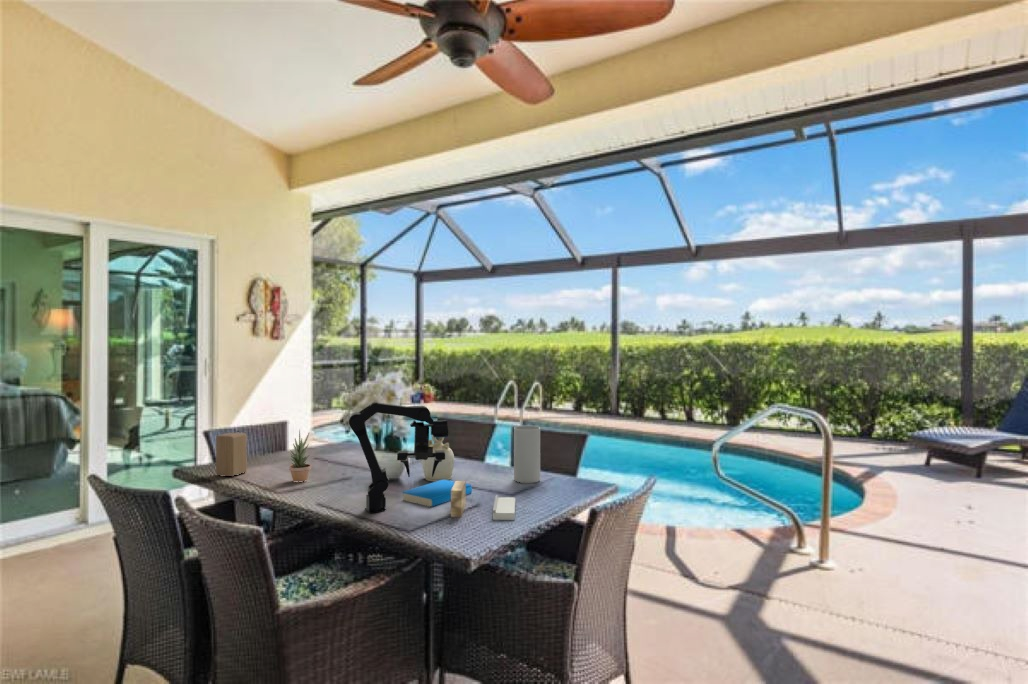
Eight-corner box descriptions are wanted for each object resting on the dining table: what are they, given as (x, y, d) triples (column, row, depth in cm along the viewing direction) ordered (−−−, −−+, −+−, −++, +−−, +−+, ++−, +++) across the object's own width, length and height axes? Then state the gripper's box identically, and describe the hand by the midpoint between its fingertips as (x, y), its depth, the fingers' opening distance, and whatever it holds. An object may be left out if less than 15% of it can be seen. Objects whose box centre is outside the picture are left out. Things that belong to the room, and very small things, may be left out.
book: (402, 491, 228) (442, 478, 249) (402, 502, 228) (442, 487, 249) (432, 498, 219) (472, 483, 239) (432, 509, 219) (472, 493, 239)
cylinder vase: (530, 485, 252) (530, 430, 252) (508, 480, 259) (508, 428, 259) (545, 479, 262) (545, 427, 262) (524, 475, 269) (524, 424, 269)
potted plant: (314, 478, 263) (314, 427, 262) (305, 484, 253) (305, 430, 253) (294, 478, 264) (294, 426, 263) (284, 483, 254) (284, 430, 254)
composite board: (492, 519, 204) (492, 510, 204) (495, 503, 224) (495, 494, 224) (514, 519, 203) (514, 510, 203) (515, 503, 223) (515, 495, 223)
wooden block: (215, 476, 267) (215, 435, 267) (231, 471, 276) (231, 432, 276) (231, 477, 264) (231, 436, 264) (247, 473, 273) (247, 433, 273)
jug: (416, 478, 264) (416, 426, 264) (444, 473, 274) (444, 423, 274) (431, 484, 252) (431, 430, 252) (460, 479, 262) (460, 427, 262)
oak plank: (450, 516, 207) (451, 490, 207) (455, 505, 221) (455, 480, 221) (461, 517, 207) (461, 490, 207) (465, 505, 221) (465, 481, 221)
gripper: (397, 441, 209) (396, 482, 209) (446, 441, 212) (445, 481, 212) (398, 436, 220) (397, 475, 220) (444, 436, 223) (444, 474, 223)
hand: (420, 476), depth 219 cm, fingers open, 9 cm apart
